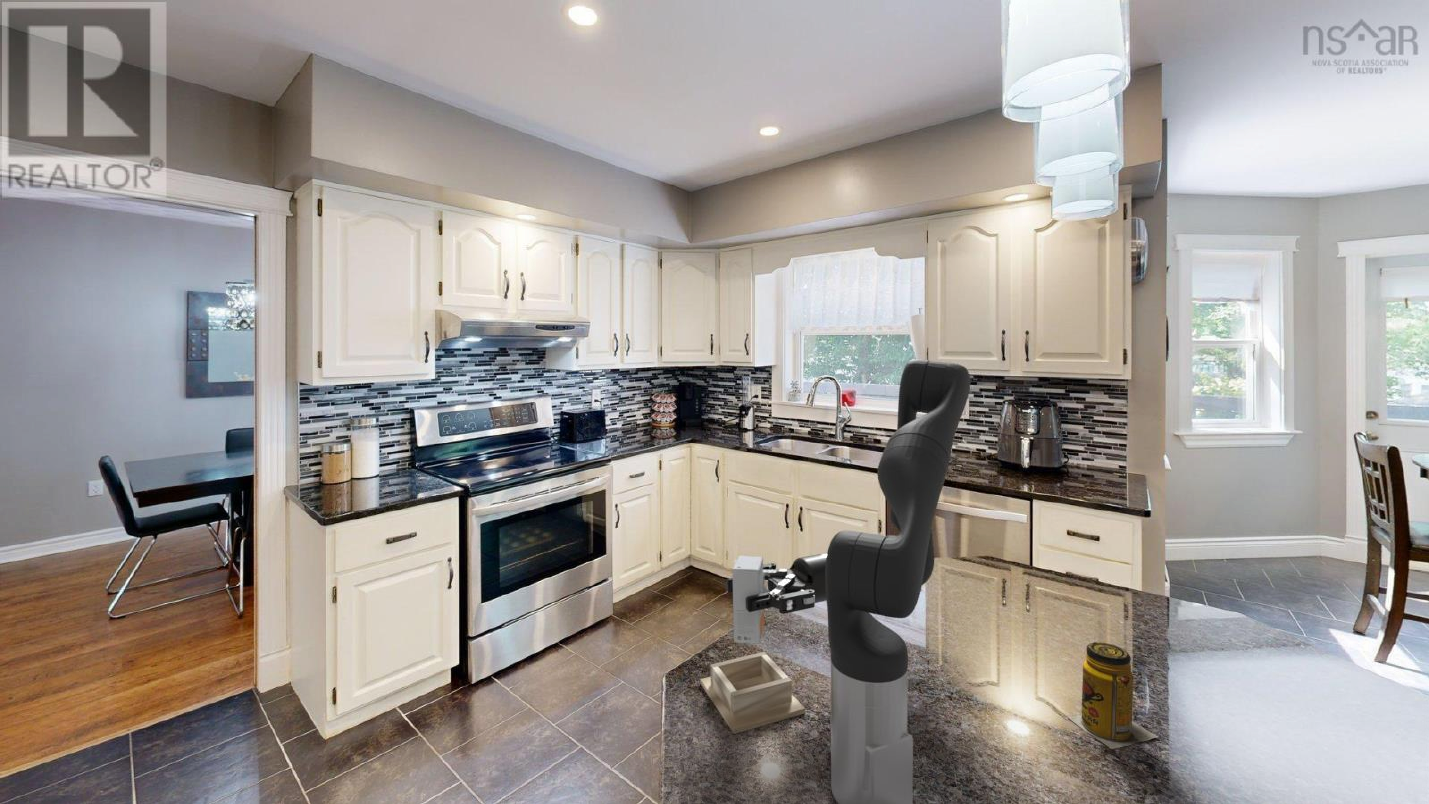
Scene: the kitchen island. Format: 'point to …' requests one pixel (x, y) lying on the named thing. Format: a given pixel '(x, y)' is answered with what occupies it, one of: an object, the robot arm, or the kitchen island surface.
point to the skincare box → (745, 585)
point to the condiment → (1109, 697)
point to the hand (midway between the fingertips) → (736, 595)
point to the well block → (751, 692)
